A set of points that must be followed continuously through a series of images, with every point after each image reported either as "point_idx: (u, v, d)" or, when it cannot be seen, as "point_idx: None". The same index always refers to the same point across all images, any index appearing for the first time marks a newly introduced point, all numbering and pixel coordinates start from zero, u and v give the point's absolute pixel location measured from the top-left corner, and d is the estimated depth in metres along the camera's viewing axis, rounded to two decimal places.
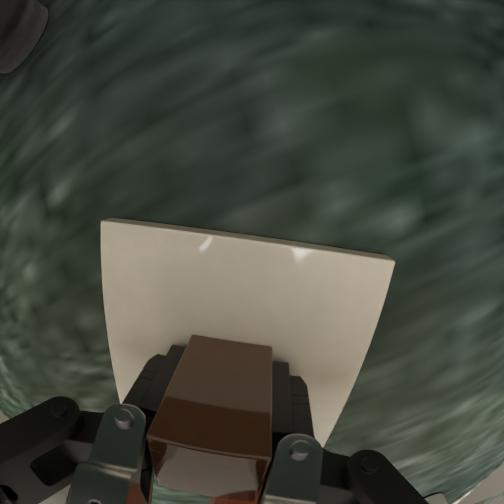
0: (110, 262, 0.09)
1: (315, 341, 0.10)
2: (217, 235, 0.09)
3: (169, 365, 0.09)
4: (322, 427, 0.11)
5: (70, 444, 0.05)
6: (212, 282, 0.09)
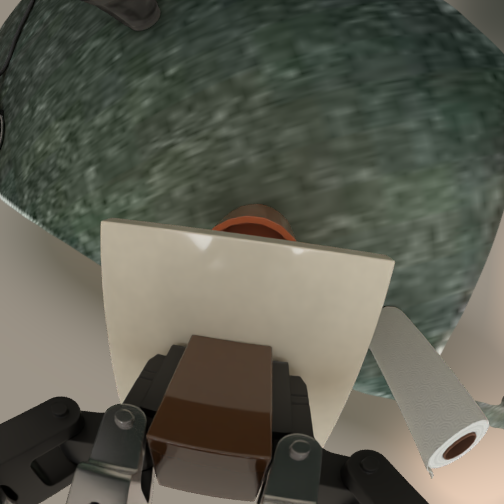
0: (110, 262, 0.09)
1: (315, 341, 0.10)
2: (217, 235, 0.09)
3: (169, 365, 0.09)
4: (322, 427, 0.11)
5: (70, 444, 0.05)
6: (212, 282, 0.09)
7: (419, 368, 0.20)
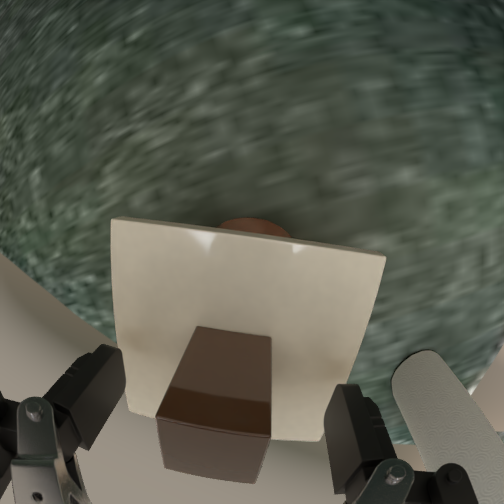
0: (119, 258, 0.10)
1: (312, 332, 0.11)
2: (221, 232, 0.10)
3: (91, 364, 0.08)
4: (320, 417, 0.12)
5: (2, 427, 0.04)
6: (216, 276, 0.10)
7: (468, 449, 0.10)
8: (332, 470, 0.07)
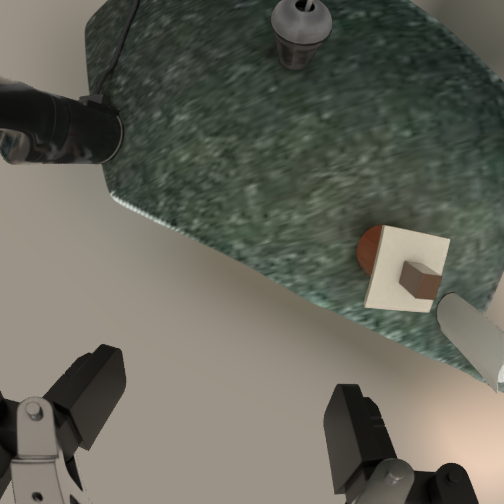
0: (385, 238, 0.31)
1: (432, 261, 0.31)
2: (414, 231, 0.30)
3: (91, 364, 0.08)
4: None
5: (2, 427, 0.04)
6: (412, 244, 0.31)
7: (482, 325, 0.31)
8: (332, 470, 0.07)
